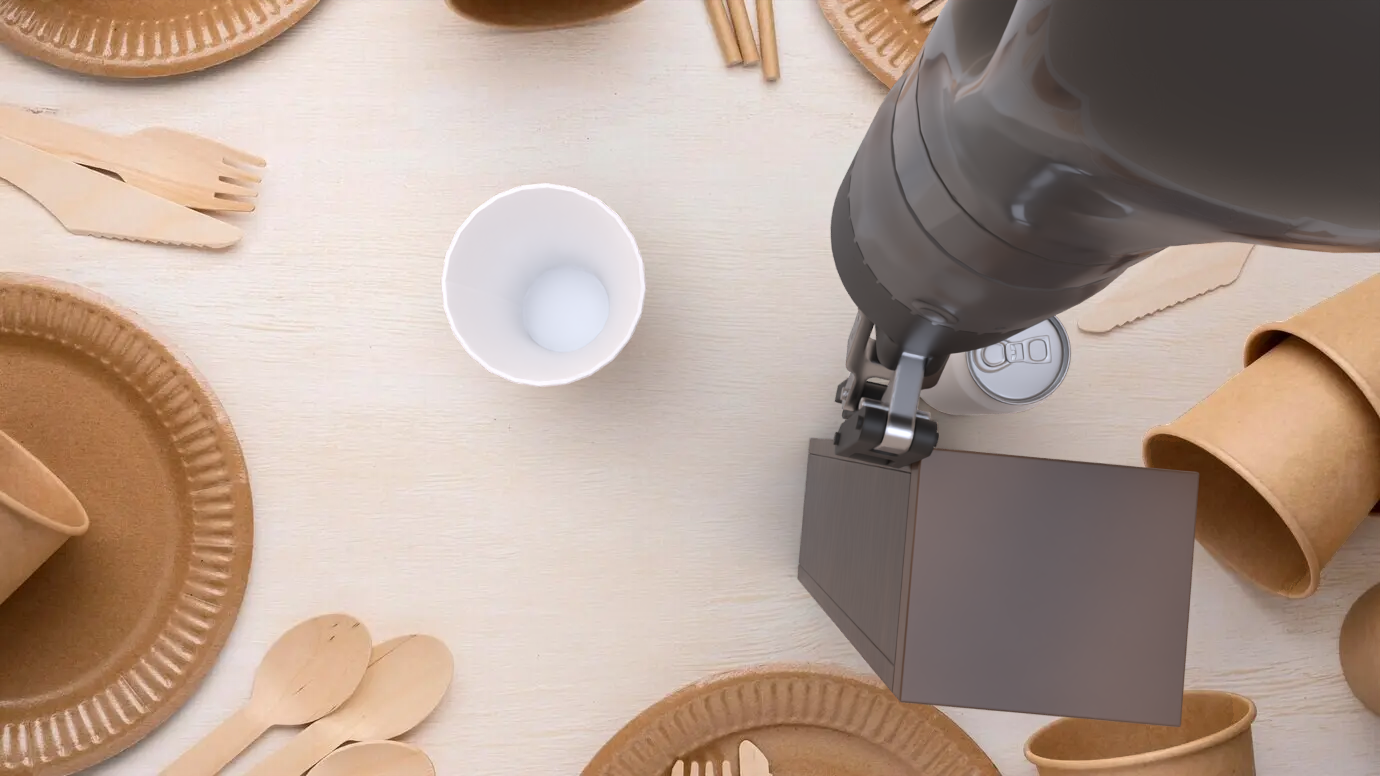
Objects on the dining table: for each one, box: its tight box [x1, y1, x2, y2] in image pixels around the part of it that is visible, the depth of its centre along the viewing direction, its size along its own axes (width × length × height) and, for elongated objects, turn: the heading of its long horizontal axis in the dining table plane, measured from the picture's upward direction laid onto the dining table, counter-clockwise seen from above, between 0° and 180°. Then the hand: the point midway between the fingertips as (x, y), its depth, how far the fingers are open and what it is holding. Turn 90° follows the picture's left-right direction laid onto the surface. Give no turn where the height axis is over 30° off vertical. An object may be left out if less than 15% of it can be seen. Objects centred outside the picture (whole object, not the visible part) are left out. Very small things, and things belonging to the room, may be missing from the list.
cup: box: [440, 182, 647, 388], centre depth 60 cm, size 10×10×14 cm
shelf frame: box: [797, 437, 912, 694], centre depth 53 cm, size 10×9×29 cm
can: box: [920, 315, 1072, 416], centre depth 62 cm, size 6×6×12 cm
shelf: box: [892, 447, 1200, 728], centre depth 38 cm, size 10×9×1 cm
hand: (880, 302), depth 45 cm, fingers open, 8 cm apart
